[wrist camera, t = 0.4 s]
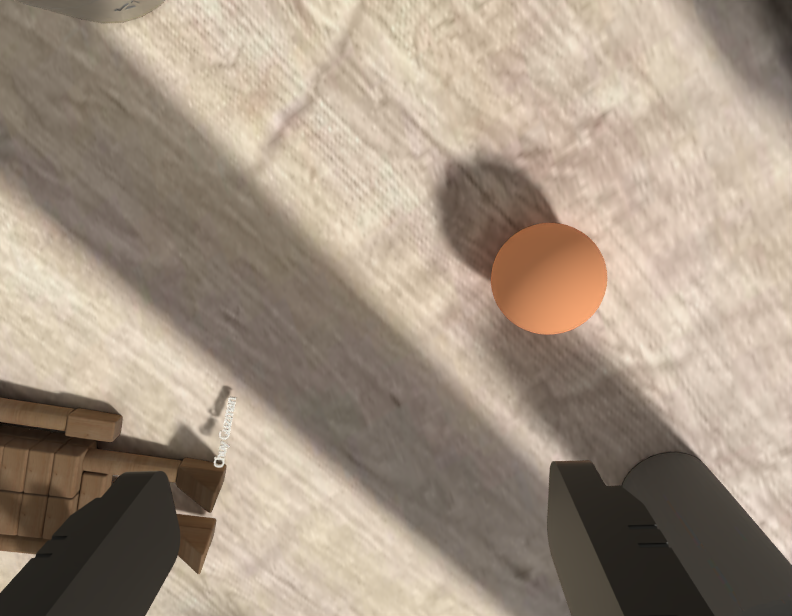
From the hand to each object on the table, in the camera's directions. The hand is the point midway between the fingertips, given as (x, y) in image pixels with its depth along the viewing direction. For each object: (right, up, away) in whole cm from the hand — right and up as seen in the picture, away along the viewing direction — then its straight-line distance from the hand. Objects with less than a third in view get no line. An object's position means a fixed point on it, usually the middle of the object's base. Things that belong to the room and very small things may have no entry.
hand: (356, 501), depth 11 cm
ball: (+8, +6, +15) cm, 18 cm away
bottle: (+18, -8, +23) cm, 30 cm away
